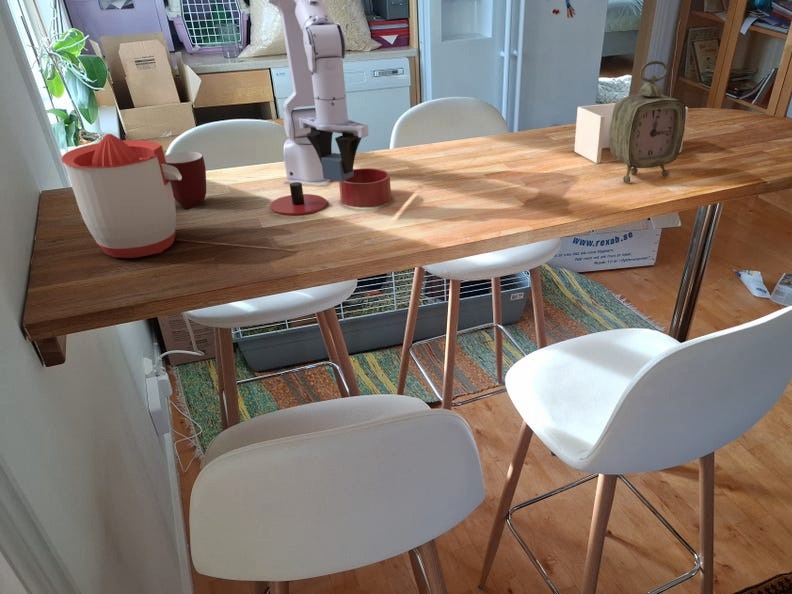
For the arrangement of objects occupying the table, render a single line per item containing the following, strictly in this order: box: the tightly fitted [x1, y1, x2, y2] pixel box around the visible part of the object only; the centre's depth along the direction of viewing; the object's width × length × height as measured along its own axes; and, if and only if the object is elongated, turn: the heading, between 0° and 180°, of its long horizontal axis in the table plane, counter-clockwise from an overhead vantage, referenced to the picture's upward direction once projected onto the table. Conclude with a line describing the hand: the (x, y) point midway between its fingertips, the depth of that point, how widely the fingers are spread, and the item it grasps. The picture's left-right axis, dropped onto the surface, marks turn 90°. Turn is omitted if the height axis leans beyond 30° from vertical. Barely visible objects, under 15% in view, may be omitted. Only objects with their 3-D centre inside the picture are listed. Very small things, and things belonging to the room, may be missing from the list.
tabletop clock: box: [609, 60, 686, 184], centre depth 153 cm, size 14×9×25 cm, turn 114°
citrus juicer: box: [61, 133, 182, 259], centre depth 119 cm, size 16×17×20 cm
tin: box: [338, 167, 392, 208], centre depth 143 cm, size 10×10×5 cm
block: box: [321, 152, 354, 182], centre depth 133 cm, size 4×4×4 cm
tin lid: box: [269, 182, 328, 216], centre depth 140 cm, size 11×11×5 cm
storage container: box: [573, 102, 689, 164], centre depth 174 cm, size 25×11×11 cm, turn 113°
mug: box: [164, 151, 207, 210], centre depth 139 cm, size 11×8×10 cm
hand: (337, 170), depth 134 cm, fingers closed on block, 4 cm apart
